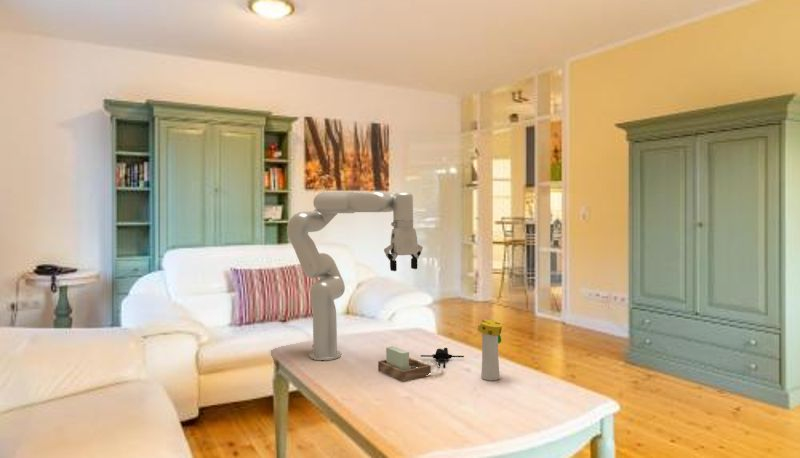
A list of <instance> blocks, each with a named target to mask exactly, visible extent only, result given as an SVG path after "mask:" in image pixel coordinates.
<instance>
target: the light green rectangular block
mask: <svg viewBox="0 0 800 458" xmlns="http://www.w3.org/2000/svg"><path fill="white" fill-rule="evenodd" d="M385 352H386V354H385V357H386V359H385V360H386V363H387V364H389V365H391V366H394V367H396V368H398V369H401V370H403V371H406V370H409V358H410V352H409V351H407V350H404V349H403V348H398V347H396V346H393V345H392V346H387V347H386V349H385Z"/></svg>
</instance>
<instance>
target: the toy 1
mask: <svg viewBox="0 0 800 458" xmlns="http://www.w3.org/2000/svg"><path fill="white" fill-rule="evenodd" d="M420 357H421V358H423V357H424V358H426V357H427V358H430V357H431V358H433V359H435V360H438V363H437V366H438V365H439V366H440V367H441V363H443V364H442V368H443V369H445V368H446V360H449V359H452V358H464V357H465V355H453V354H450V353H449V349H448V348H447V347H444V348H437V349H436V351H435V353H434V354H432V355H431V354H430V355H429V354H427V355H426V354H424V355H423V354H422V355H420Z"/></svg>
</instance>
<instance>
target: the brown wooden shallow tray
mask: <svg viewBox="0 0 800 458" xmlns="http://www.w3.org/2000/svg"><path fill="white" fill-rule="evenodd" d="M377 363H378V364H377V366H378V368H377V369H378V372H380V373H382V374H385V375H387V376H389V377H391V378H393V379H396V380H398V381H400V382H402V383H406V382H410V381H414V380H418V379H422V378H425V377H424V376H426V375H428V374H429V373H431V374H432V368H431V367H432V366H431V365H430V364H428V363H424V362H423V361H419V360H417V359H414V358H411V357H409V370H406V371H403V370H401V369H398V368H396V367H394V366H391V365H389V364H387V363H386V359H383V360H378V361H377ZM416 367H418V368H416ZM426 377H427V376H426Z"/></svg>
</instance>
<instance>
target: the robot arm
mask: <svg viewBox="0 0 800 458" xmlns="http://www.w3.org/2000/svg"><path fill="white" fill-rule="evenodd" d="M413 202H414V196H413V194H412V193H411V192H396V193H392V192H391V193H390V192H382V191H380V192H379V191H376V192H375V191H374V192H354V191H326V192H325V191H324V192H319V193H318V194H316V195H315V197H314V198H313V202H312V203H313V207H314V210H313V211H301V212H300V211H299V212H297V213H295V214H293V215H292V216H291V217H290V219H289V221H288V224H287V228H286V230H287V231H286V232H287V237H288V240H289V241H290V243H291V245H292V248H293V249H294V252H295V254H296V257H297V259H298V261H299V264H300V266H301V268H302V270H303V273H304V274H305V276H306V277H308V278H310V279H317V278H319V280H316V281H314V283H313V284H312V285H311V287H310V289H309V297H310V301H311V308H312V337H313V338H312V342H313V343H312V348H313V351H312V352H310V353H309V358H310V359H311V360H313V359H314V361H321V360H324V361H331V360H337V359H339V358H340V357H341V356H342V352H341V351H339V350H338V329H337V328H338V325H337V324H338V323H337V320H338V319H337V309H336V304H335V300H337V299H339V298H341V297H342V296H343V295H344V293H345V289H346V287H345V282H344V280H343V277H342V275H341V273H340V270H339V269H338V266H337V264H336V261H335V260H334V259H333V257H332V256H331V255H329V254H328V253H324V252H319V250H318V248H317V246H316V244H315V241H314V240H313V239H312V238H311V236H310V235H309V233H314V232H315V233H316V232H319V231H321V230H322V229H324V228H325V227H326V226H327V225H328V224H330V222H331V221H332V220H333V219H335V217H336V216H337V215H338V214H354V213H355V214H356V213H391V212H392V213H393V215H392V216H393V218H392V219H393V222H391V224H390V225H391V227H393V228H392V229H391V235H390V244H389V245H388V246H387V247H386V248H384V250H383V251H384V254H385V256H386V258H387V259H388V261H389V268H390V271H391V272H397V257H398V256H411V258H410V269H413V270H418V259H419V258H420V255H422V251H423V248H424V247H423V246H421V245H420V244H418V236H417V231H416V228H415V227H414V203H413Z"/></svg>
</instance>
